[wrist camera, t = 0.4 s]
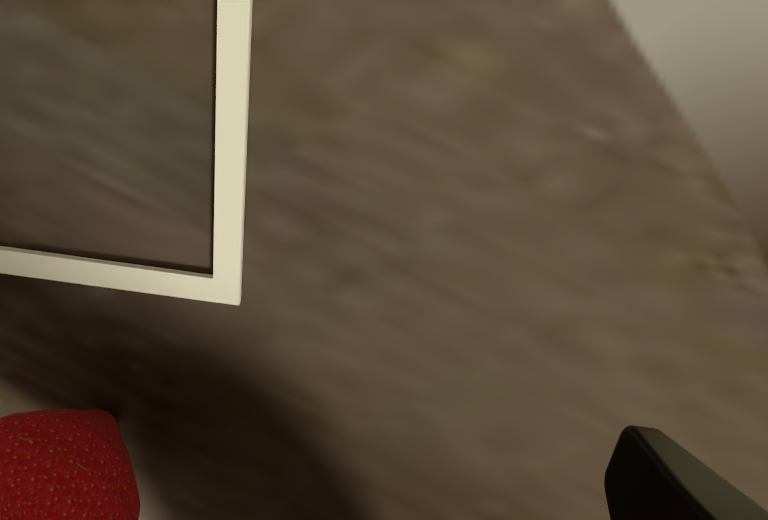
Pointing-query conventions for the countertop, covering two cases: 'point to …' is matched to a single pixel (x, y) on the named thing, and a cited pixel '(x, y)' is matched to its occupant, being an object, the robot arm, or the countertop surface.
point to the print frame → (227, 194)
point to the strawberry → (65, 467)
